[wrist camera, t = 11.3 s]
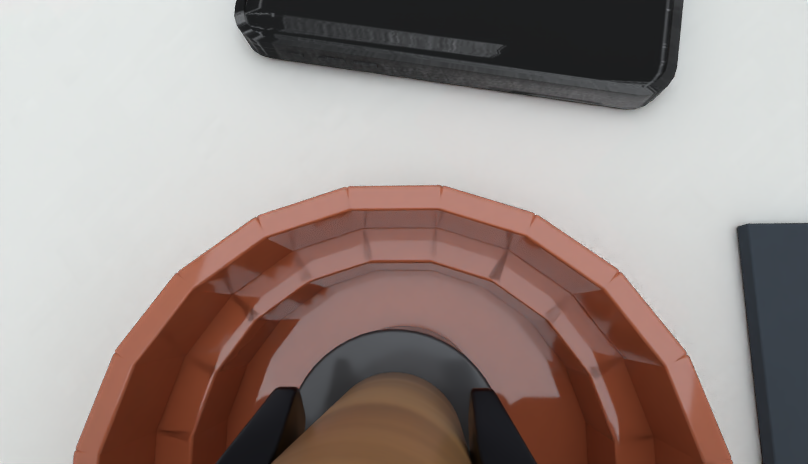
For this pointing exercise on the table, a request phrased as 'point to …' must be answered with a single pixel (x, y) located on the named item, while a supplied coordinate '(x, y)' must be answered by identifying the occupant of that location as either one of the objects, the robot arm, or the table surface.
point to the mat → (778, 334)
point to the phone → (483, 42)
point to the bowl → (404, 306)
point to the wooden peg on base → (387, 402)
